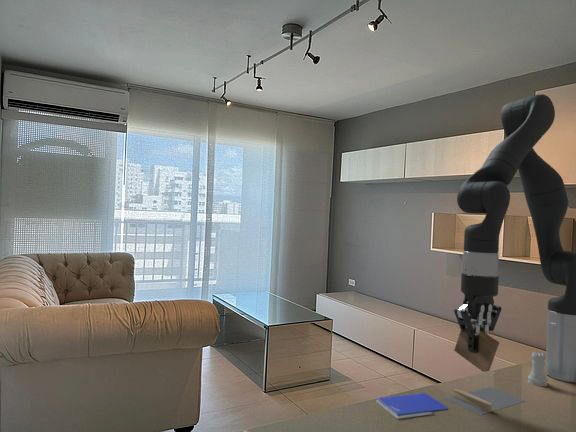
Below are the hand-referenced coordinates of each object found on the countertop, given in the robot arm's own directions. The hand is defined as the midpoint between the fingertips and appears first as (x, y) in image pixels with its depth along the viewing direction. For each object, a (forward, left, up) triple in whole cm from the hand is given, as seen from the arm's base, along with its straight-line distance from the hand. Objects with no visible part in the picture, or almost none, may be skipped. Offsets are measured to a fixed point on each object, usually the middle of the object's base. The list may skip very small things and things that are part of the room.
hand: (476, 351), depth 96 cm
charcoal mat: (-3, 0, -12) cm, 12 cm away
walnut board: (0, -1, -2) cm, 3 cm away
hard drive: (+14, -5, -12) cm, 19 cm away
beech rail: (+1, 0, -12) cm, 12 cm away
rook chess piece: (-25, -1, -12) cm, 28 cm away
